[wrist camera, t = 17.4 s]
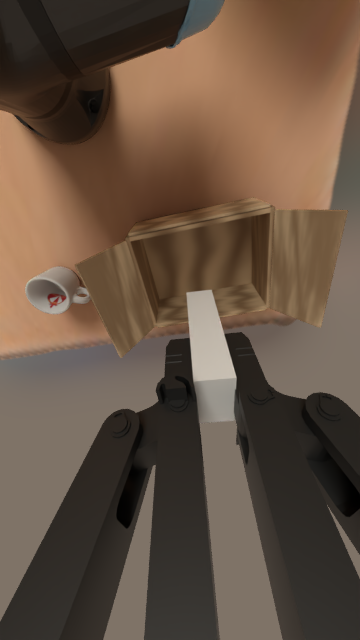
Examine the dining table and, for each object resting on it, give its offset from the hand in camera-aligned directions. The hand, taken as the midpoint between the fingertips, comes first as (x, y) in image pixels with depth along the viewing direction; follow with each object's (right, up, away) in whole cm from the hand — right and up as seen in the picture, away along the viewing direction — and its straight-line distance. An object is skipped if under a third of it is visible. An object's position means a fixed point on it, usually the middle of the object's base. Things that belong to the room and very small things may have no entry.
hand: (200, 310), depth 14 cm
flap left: (-8, +5, +24) cm, 25 cm away
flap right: (+13, +8, +22) cm, 27 cm away
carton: (+3, +12, +31) cm, 33 cm away
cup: (-25, +8, +34) cm, 43 cm away
